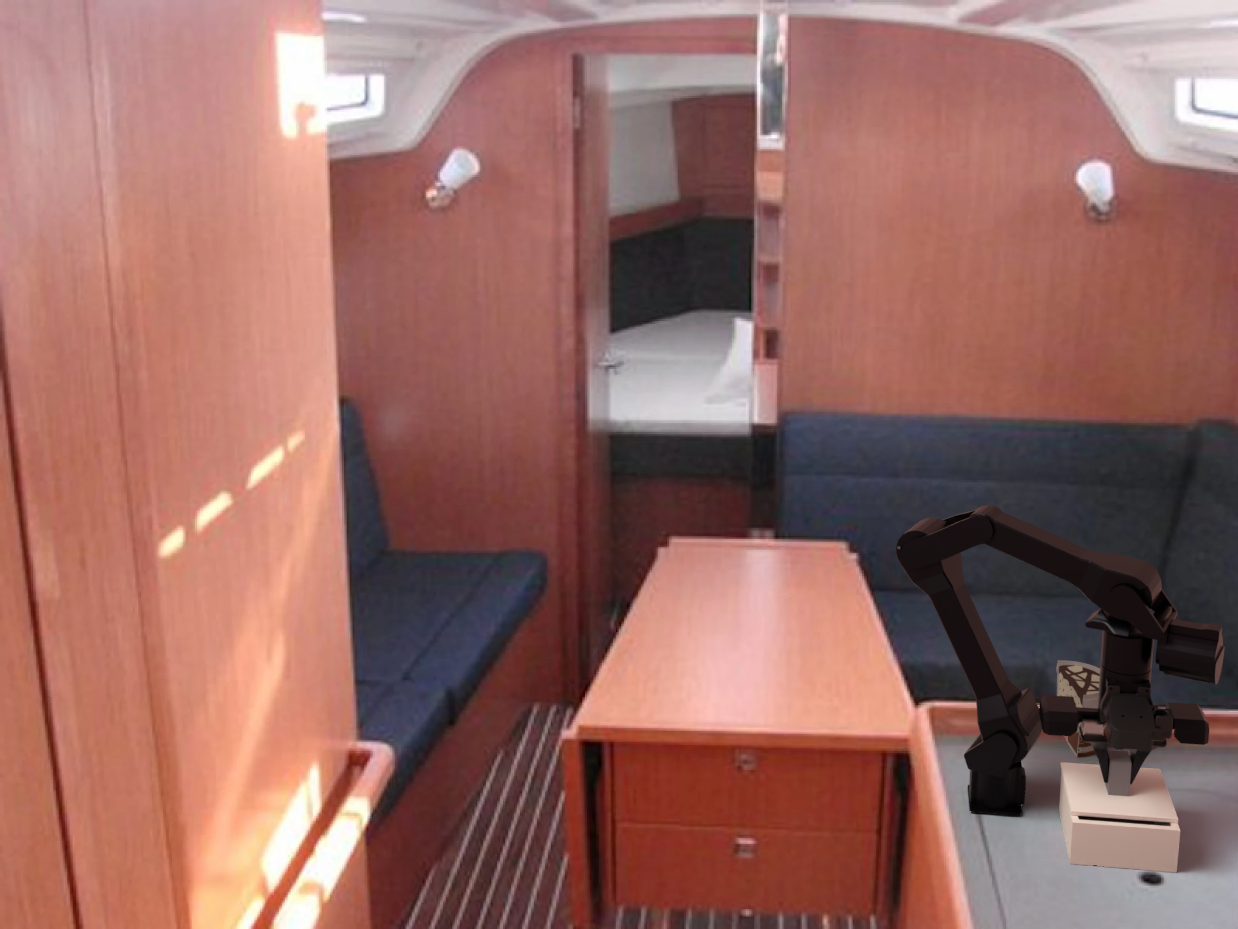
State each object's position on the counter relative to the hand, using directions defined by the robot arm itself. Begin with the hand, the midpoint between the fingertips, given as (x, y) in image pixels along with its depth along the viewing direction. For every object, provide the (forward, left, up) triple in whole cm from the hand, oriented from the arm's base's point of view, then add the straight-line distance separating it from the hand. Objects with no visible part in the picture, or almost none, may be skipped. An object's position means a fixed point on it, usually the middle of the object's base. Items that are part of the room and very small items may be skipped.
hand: (1117, 782), depth 160 cm
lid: (0, 0, -2) cm, 2 cm away
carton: (0, -1, -7) cm, 7 cm away
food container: (0, +25, -7) cm, 26 cm away
